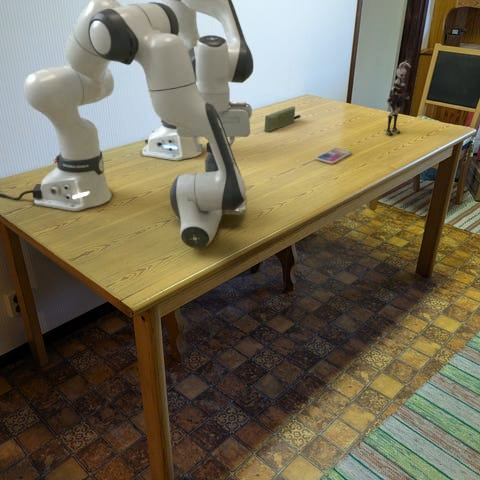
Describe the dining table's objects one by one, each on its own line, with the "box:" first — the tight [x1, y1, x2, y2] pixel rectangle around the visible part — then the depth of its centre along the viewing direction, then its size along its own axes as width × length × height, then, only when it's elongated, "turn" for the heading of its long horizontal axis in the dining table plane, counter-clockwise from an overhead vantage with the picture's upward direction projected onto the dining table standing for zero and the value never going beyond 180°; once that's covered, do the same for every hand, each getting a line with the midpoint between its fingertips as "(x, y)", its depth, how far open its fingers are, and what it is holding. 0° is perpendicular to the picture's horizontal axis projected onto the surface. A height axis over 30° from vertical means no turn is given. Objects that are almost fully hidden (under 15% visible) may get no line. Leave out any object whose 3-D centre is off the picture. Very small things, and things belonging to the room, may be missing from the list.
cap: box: [206, 141, 213, 154], centre depth 141 cm, size 4×4×2 cm
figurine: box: [385, 60, 412, 137], centre depth 207 cm, size 15×6×30 cm, turn 132°
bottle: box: [204, 152, 219, 172], centre depth 146 cm, size 5×5×19 cm
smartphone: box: [315, 147, 352, 165], centre depth 188 cm, size 7×1×15 cm
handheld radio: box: [264, 105, 301, 133], centre depth 221 cm, size 7×3×25 cm
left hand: (214, 189), depth 149 cm, fingers closed on bottle, 5 cm apart
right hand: (213, 151), depth 142 cm, fingers open, 6 cm apart
